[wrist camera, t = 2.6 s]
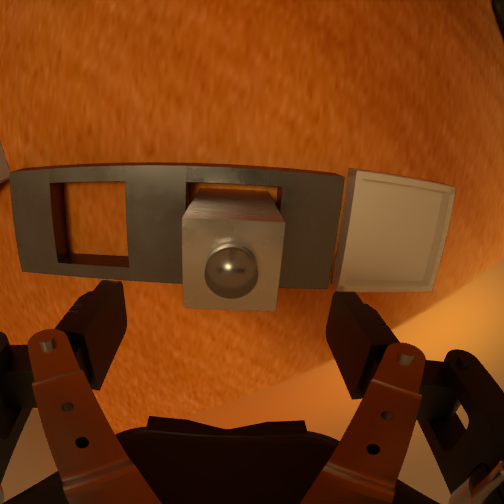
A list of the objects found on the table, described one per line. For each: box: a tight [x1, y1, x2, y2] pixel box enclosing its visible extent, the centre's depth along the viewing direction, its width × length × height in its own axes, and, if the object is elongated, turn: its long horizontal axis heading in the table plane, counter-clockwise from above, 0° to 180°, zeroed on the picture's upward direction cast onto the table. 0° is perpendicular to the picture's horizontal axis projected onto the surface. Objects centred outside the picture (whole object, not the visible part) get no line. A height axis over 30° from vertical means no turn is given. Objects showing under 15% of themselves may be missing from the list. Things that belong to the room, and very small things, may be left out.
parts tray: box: [332, 168, 456, 292], centre depth 23 cm, size 9×9×2 cm
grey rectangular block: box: [182, 188, 285, 311], centre depth 18 cm, size 5×5×9 cm
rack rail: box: [9, 162, 345, 289], centre depth 21 cm, size 8×24×2 cm, turn 86°
